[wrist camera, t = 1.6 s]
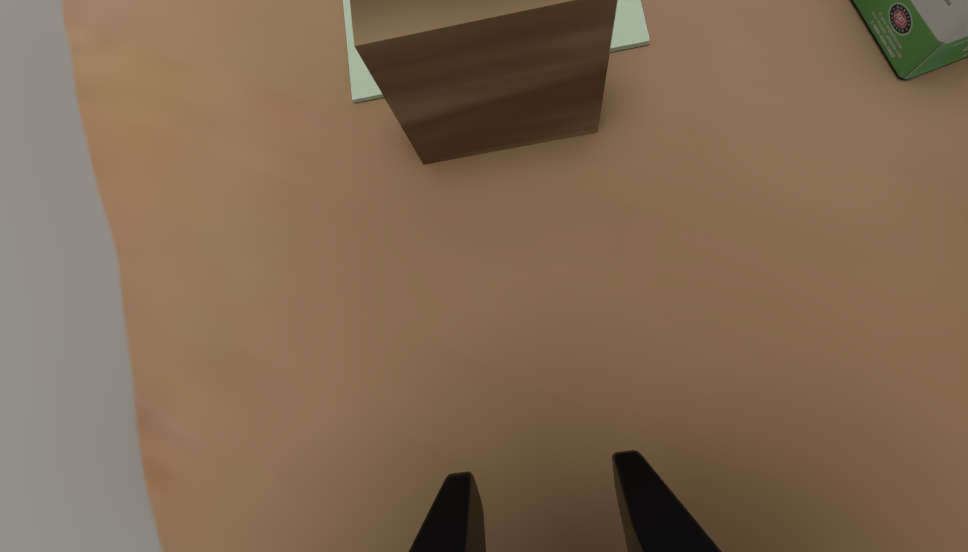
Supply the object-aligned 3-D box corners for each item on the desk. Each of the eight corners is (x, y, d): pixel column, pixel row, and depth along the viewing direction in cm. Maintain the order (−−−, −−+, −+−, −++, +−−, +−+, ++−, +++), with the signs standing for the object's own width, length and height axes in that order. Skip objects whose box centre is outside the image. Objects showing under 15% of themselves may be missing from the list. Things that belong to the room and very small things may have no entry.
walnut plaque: (597, 132, 25) (619, -9, 16) (423, 164, 26) (353, 46, 17) (587, 83, 25) (603, -81, 17) (417, 115, 26) (347, -24, 17)
